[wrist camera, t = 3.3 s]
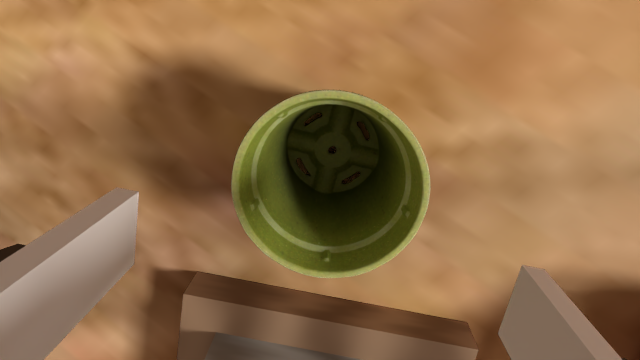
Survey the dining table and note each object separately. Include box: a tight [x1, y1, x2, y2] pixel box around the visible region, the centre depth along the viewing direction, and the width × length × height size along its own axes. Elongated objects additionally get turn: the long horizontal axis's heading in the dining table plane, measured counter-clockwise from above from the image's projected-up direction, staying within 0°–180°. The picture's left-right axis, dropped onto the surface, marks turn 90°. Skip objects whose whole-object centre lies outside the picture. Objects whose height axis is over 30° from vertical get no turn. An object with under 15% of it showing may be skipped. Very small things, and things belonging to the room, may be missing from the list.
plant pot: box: [231, 90, 430, 278], centre depth 26 cm, size 9×9×9 cm
